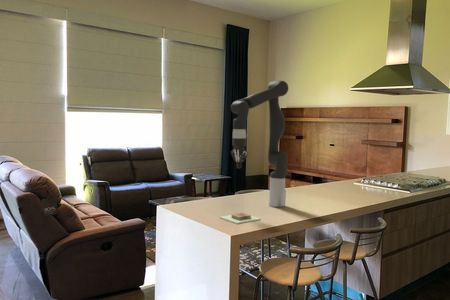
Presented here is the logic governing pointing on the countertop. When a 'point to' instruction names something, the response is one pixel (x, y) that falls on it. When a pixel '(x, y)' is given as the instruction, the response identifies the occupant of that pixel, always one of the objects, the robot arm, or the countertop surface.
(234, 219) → the mat
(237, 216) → the brown wooden block
